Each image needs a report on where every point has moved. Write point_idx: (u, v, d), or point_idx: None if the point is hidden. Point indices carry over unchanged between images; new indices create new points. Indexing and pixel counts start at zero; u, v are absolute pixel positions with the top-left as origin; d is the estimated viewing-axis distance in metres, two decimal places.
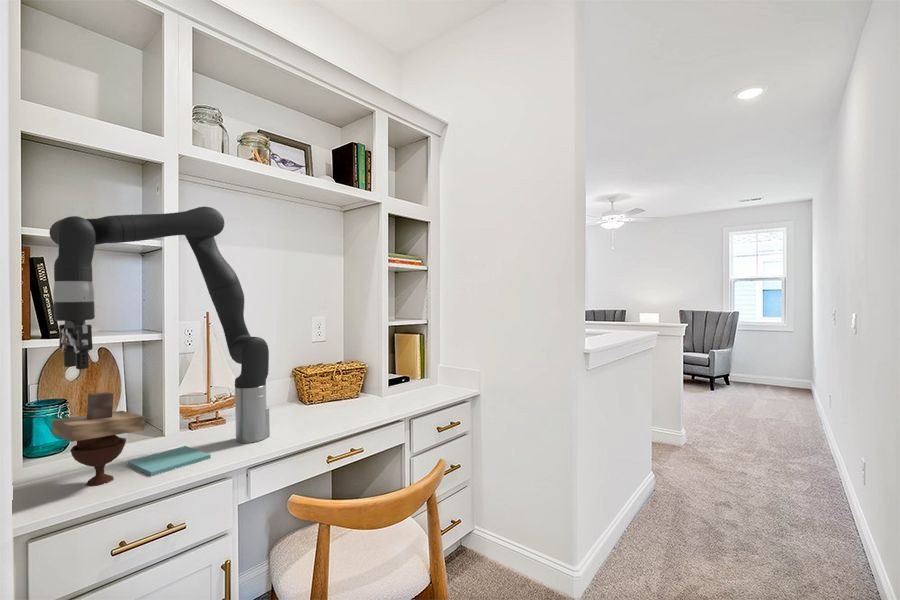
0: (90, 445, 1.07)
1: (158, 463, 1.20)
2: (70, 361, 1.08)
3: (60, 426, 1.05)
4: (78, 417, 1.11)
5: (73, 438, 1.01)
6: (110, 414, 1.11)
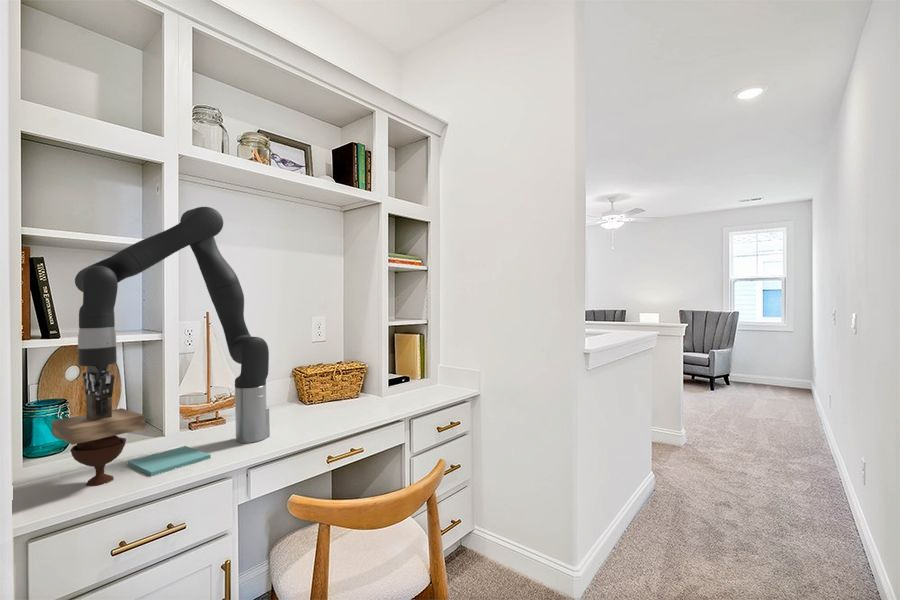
0: (90, 445, 1.07)
1: (158, 463, 1.20)
2: None
3: (60, 428, 1.05)
4: (78, 417, 1.11)
5: (74, 441, 1.01)
6: (110, 414, 1.11)
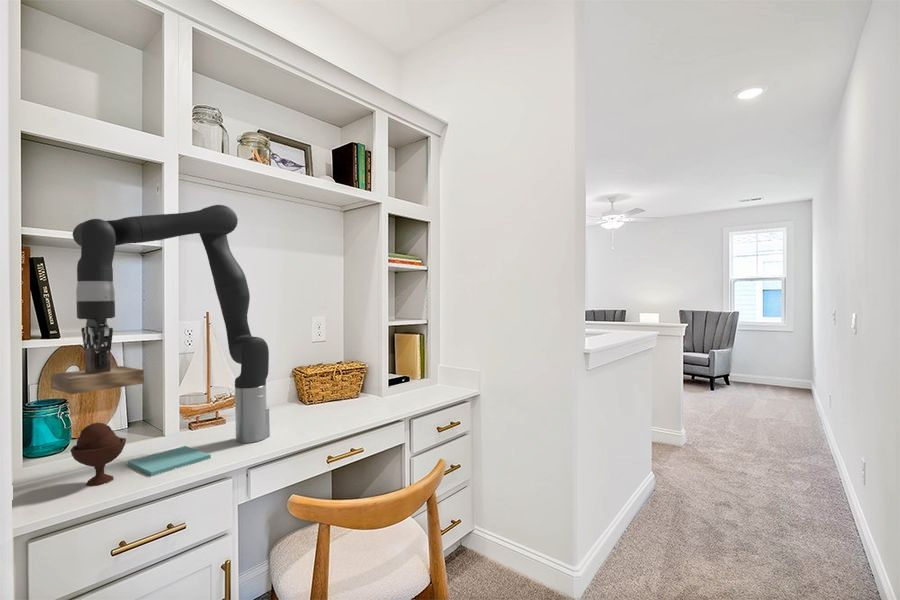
0: (90, 445, 1.07)
1: (158, 463, 1.20)
2: None
3: (59, 380, 1.05)
4: (76, 372, 1.11)
5: (72, 391, 1.01)
6: (108, 368, 1.11)
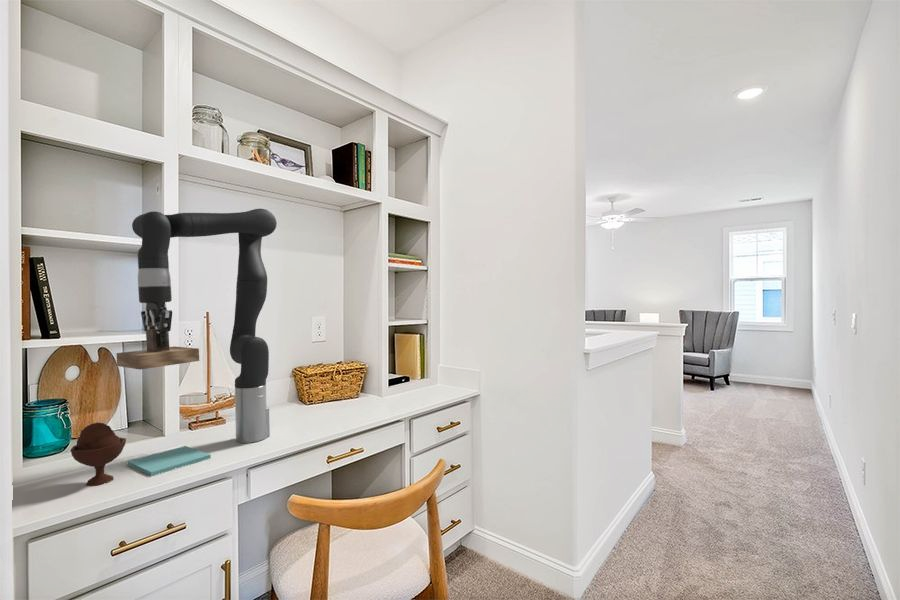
0: (90, 445, 1.07)
1: (158, 463, 1.20)
2: None
3: (126, 358, 1.16)
4: (139, 351, 1.22)
5: (141, 366, 1.12)
6: (167, 347, 1.22)
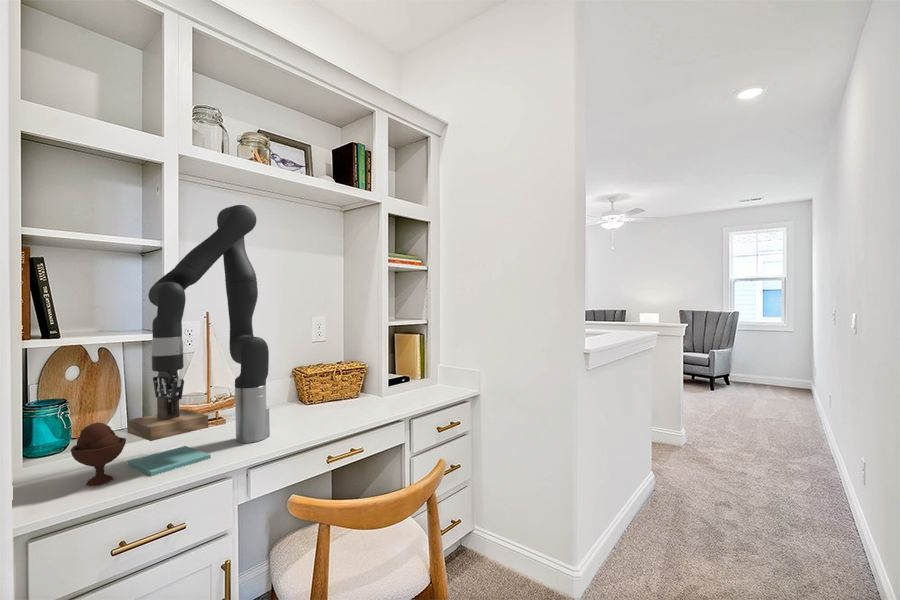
0: (90, 445, 1.07)
1: (158, 463, 1.20)
2: None
3: (137, 427, 1.18)
4: (149, 417, 1.24)
5: (152, 438, 1.14)
6: (178, 414, 1.24)
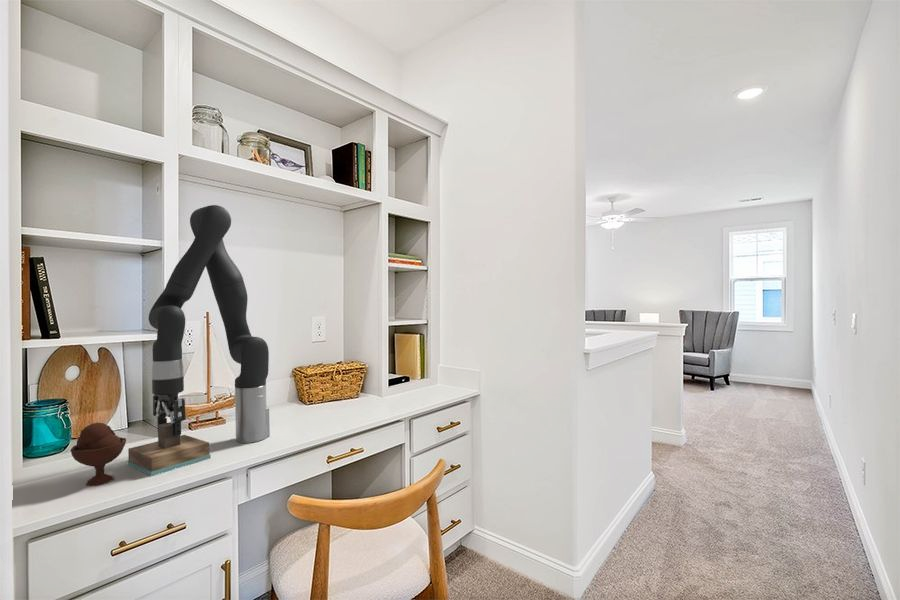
0: (90, 445, 1.07)
1: None
2: None
3: (138, 456, 1.18)
4: (150, 445, 1.24)
5: (153, 468, 1.14)
6: (178, 442, 1.24)
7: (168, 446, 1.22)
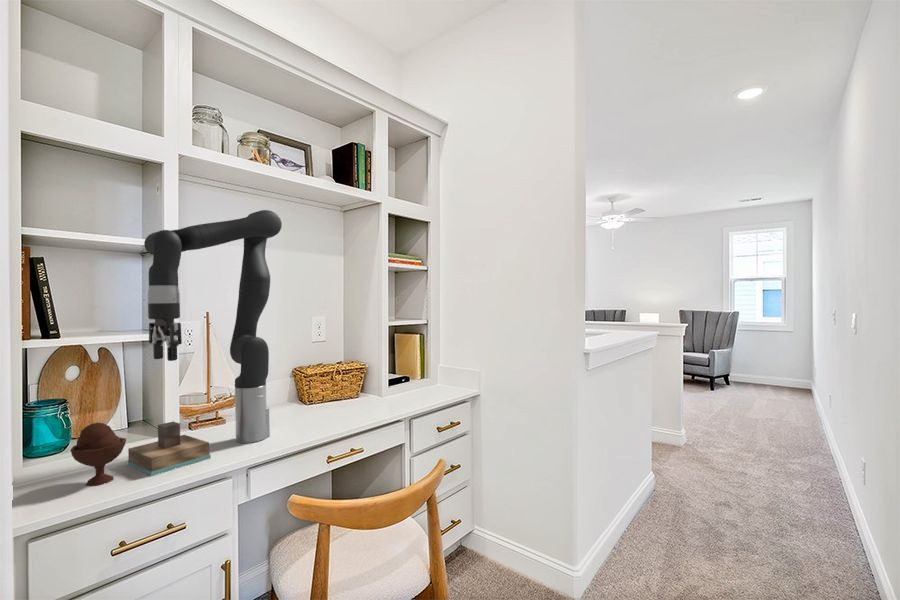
0: (90, 445, 1.07)
1: None
2: (158, 354, 1.26)
3: (138, 456, 1.18)
4: (150, 445, 1.24)
5: (153, 468, 1.14)
6: (178, 442, 1.24)
7: (168, 446, 1.22)
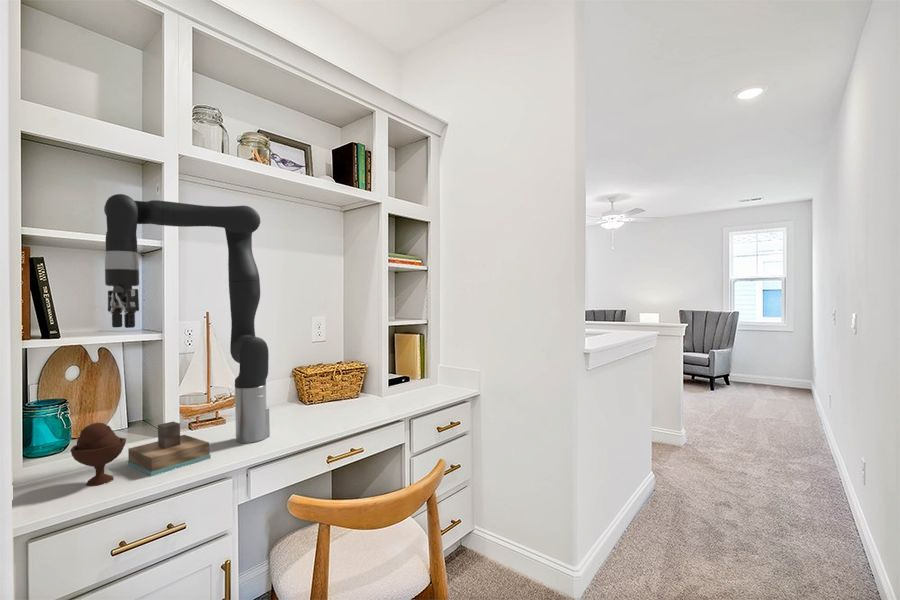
0: (90, 445, 1.07)
1: None
2: (117, 322, 1.23)
3: (138, 456, 1.18)
4: (150, 445, 1.24)
5: (153, 468, 1.14)
6: (178, 442, 1.24)
7: (168, 446, 1.22)
